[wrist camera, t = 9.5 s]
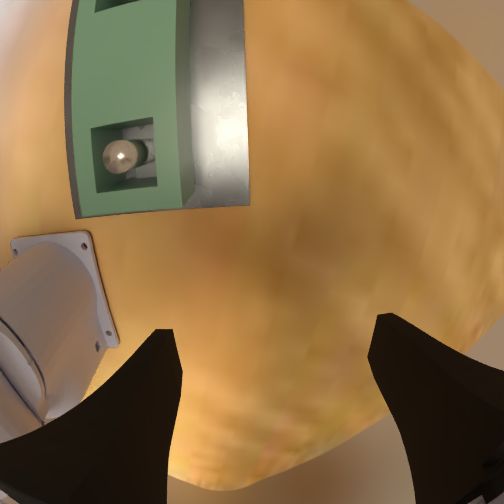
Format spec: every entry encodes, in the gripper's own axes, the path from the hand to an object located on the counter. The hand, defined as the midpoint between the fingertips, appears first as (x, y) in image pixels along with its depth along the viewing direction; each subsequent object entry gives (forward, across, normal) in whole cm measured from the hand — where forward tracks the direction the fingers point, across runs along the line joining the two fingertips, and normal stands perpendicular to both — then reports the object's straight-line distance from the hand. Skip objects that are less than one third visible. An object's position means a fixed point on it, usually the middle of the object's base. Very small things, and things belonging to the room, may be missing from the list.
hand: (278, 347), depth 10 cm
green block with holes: (+8, +6, -11) cm, 15 cm away
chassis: (+9, +6, -11) cm, 16 cm away
